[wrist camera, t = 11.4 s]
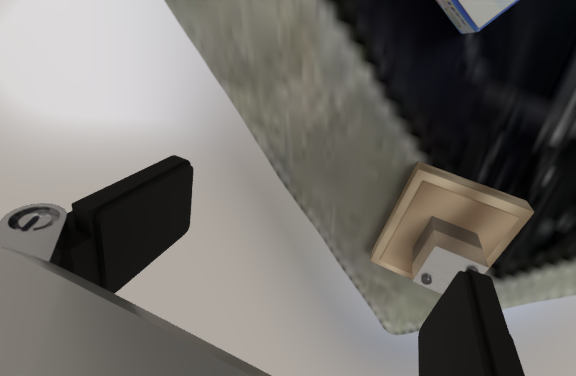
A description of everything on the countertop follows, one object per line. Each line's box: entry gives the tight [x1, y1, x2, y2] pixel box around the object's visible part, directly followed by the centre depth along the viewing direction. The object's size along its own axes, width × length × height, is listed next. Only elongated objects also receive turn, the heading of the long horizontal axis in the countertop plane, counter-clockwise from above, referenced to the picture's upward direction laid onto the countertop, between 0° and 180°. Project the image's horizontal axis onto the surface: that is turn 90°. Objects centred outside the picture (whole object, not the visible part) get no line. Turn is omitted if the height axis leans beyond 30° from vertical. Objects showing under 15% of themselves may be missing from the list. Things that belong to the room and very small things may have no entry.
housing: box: [412, 216, 489, 294], centre depth 33 cm, size 5×5×6 cm
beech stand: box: [370, 161, 534, 280], centre depth 37 cm, size 12×14×3 cm
